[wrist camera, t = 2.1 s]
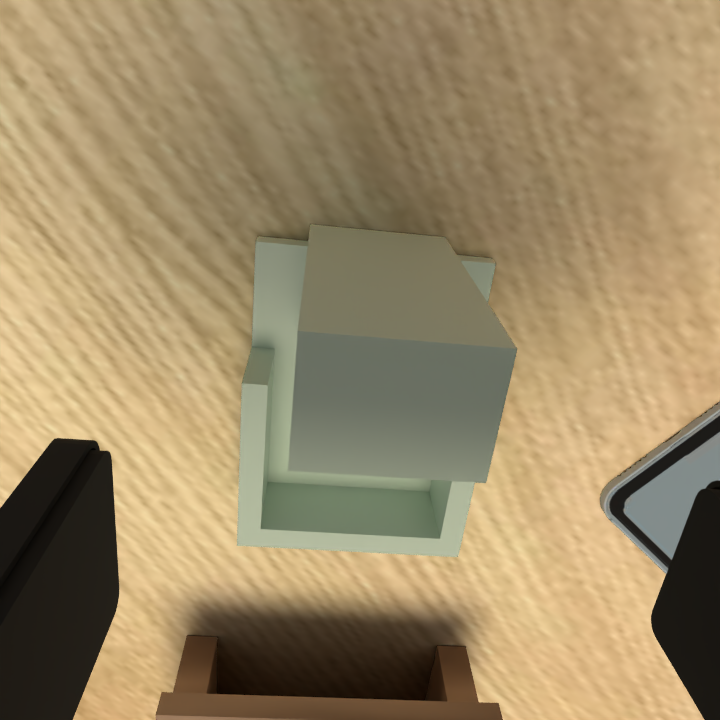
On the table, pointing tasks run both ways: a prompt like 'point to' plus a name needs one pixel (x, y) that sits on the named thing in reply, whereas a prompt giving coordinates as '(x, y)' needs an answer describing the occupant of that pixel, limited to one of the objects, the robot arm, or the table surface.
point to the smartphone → (665, 488)
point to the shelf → (316, 714)
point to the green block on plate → (368, 393)
